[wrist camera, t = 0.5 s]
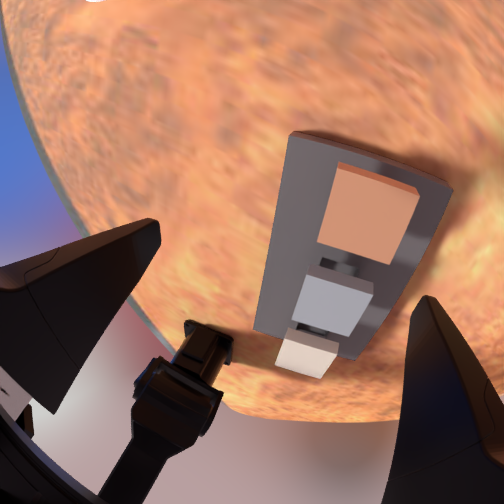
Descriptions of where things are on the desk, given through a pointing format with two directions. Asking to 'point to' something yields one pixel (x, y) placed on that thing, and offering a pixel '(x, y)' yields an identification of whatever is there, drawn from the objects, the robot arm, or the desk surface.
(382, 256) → the key terracotta
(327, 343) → the key cream
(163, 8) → the desk surface
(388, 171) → the keypad board
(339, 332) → the key slate
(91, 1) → the white stand
